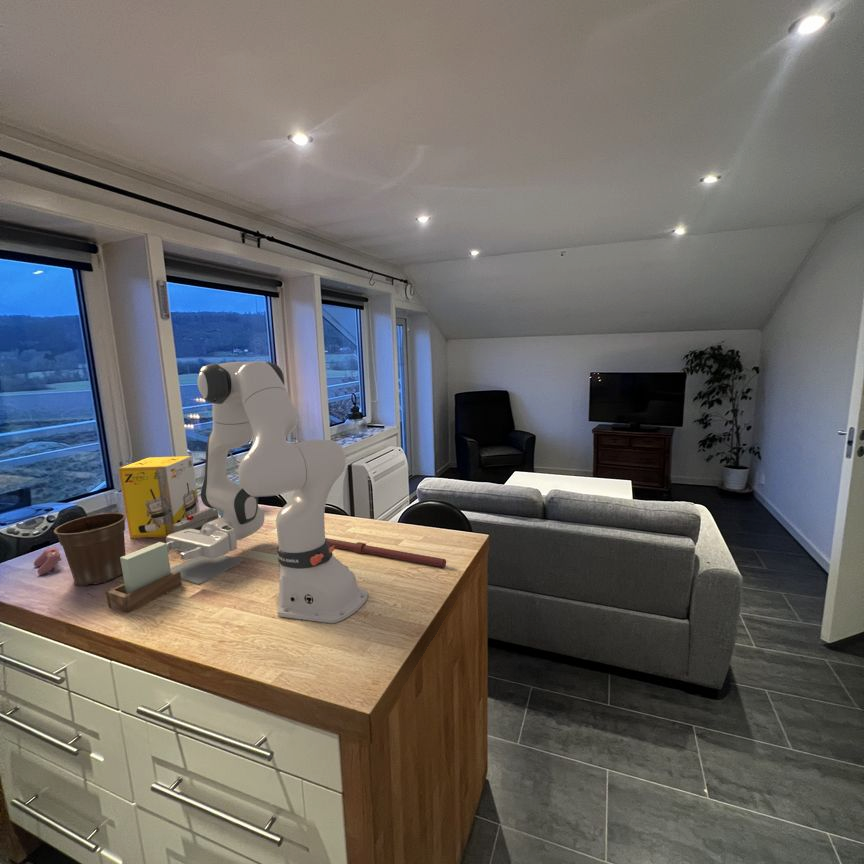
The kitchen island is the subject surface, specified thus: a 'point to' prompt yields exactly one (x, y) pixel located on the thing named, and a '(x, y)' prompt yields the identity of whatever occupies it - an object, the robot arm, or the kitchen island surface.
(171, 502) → the packaging box
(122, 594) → the walnut box
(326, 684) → the kitchen island surface
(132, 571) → the cover plate
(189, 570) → the grey rubber mat
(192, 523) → the cassette player
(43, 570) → the pink lobed lump
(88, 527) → the plant pot
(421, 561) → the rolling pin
